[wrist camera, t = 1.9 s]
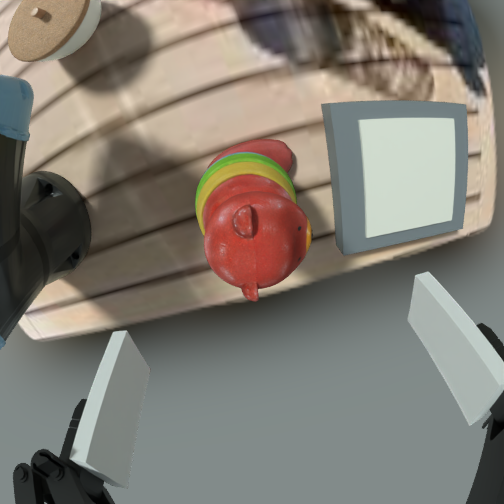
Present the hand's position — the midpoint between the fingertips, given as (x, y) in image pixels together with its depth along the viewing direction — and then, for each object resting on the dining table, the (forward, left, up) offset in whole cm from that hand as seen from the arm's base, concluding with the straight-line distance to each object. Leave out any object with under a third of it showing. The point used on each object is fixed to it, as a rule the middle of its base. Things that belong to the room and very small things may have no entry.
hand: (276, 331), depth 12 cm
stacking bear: (0, 0, -24) cm, 24 cm away
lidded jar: (-16, +26, -24) cm, 39 cm away
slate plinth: (+20, -1, -23) cm, 31 cm away
